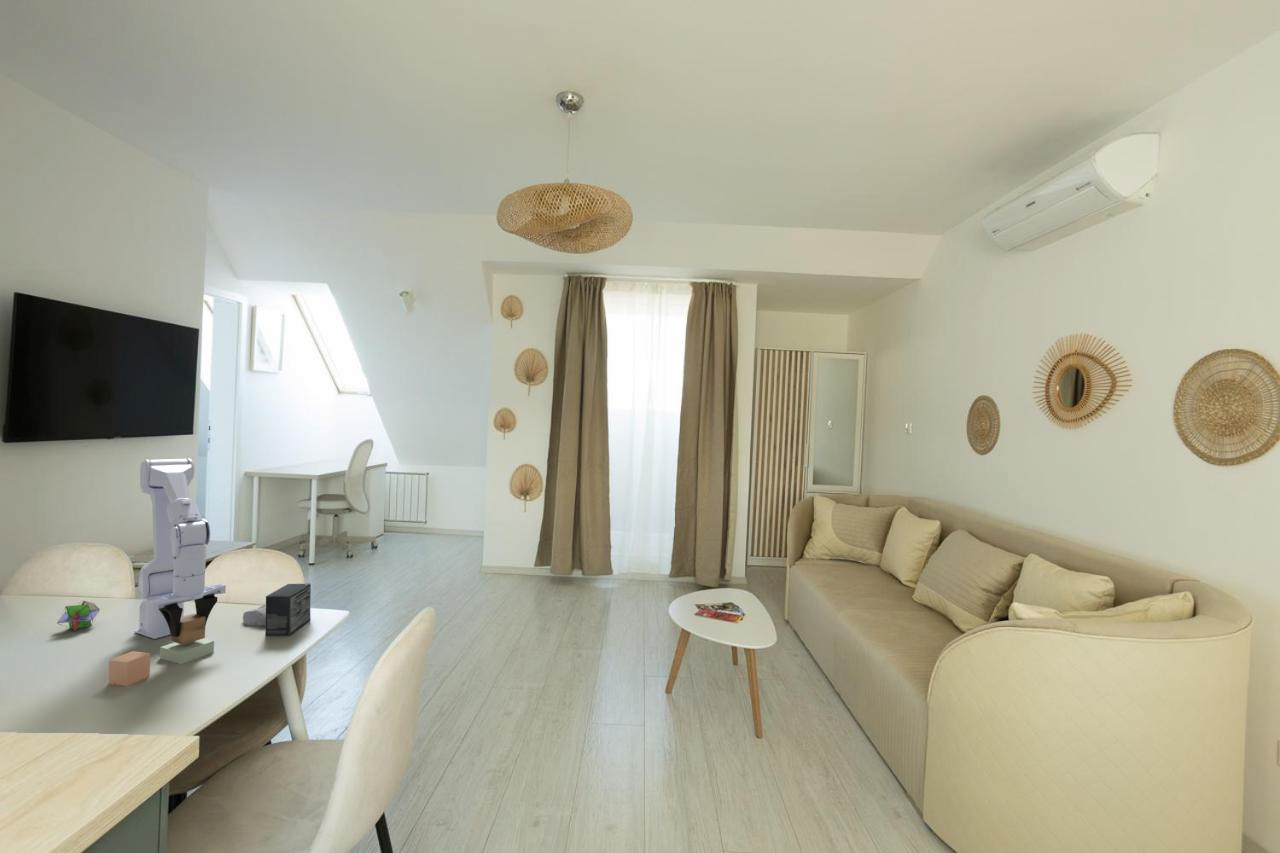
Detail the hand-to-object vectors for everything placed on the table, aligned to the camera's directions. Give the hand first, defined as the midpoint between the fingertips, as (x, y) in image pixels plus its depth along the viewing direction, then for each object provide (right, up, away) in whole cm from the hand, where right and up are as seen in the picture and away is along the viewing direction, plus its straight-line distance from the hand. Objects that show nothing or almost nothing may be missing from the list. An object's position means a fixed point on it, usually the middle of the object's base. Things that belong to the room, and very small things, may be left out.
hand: (187, 632), depth 127 cm
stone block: (+3, -6, +25) cm, 25 cm away
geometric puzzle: (-38, -4, +13) cm, 41 cm away
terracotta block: (-2, -6, -12) cm, 14 cm away
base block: (0, -6, 0) cm, 6 cm away
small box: (+12, -6, +18) cm, 22 cm away
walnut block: (0, -2, 0) cm, 2 cm away
